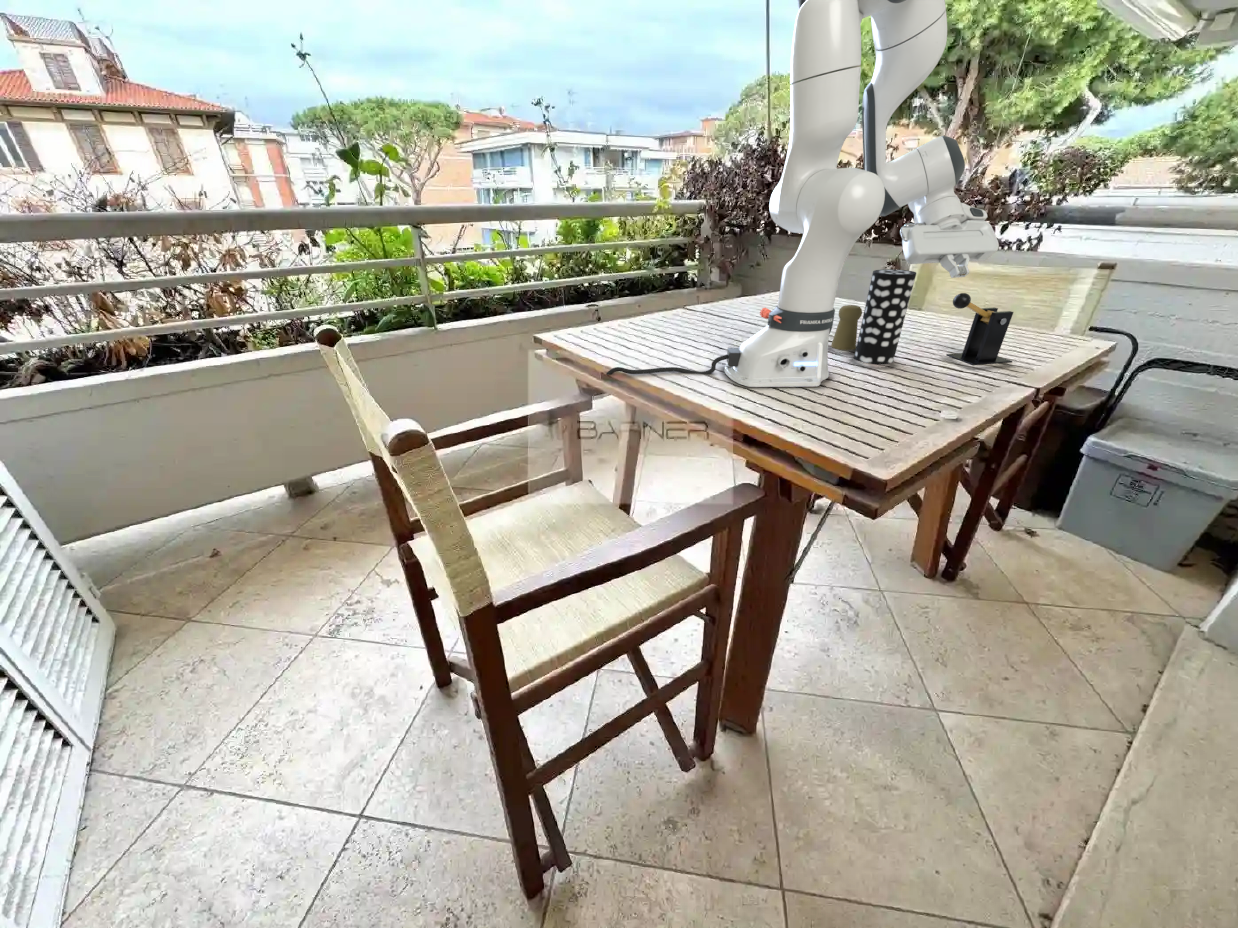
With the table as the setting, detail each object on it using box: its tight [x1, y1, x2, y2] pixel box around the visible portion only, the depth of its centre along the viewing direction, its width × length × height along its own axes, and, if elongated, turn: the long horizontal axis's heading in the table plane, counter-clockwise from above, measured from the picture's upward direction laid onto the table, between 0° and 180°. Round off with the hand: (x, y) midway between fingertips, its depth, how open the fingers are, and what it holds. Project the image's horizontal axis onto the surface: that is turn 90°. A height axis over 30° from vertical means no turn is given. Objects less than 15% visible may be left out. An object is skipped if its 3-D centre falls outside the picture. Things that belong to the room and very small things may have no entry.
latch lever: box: [952, 292, 994, 324], centre depth 105 cm, size 13×3×3 cm, turn 99°
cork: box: [830, 304, 863, 351], centre depth 120 cm, size 6×6×11 cm
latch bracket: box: [945, 307, 1014, 366], centre depth 109 cm, size 10×8×12 cm
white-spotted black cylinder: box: [853, 268, 917, 365], centre depth 108 cm, size 8×8×20 cm
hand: (960, 275), depth 103 cm, fingers closed
